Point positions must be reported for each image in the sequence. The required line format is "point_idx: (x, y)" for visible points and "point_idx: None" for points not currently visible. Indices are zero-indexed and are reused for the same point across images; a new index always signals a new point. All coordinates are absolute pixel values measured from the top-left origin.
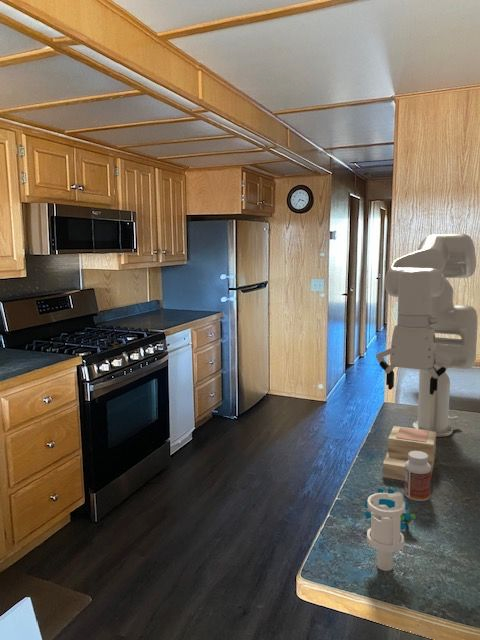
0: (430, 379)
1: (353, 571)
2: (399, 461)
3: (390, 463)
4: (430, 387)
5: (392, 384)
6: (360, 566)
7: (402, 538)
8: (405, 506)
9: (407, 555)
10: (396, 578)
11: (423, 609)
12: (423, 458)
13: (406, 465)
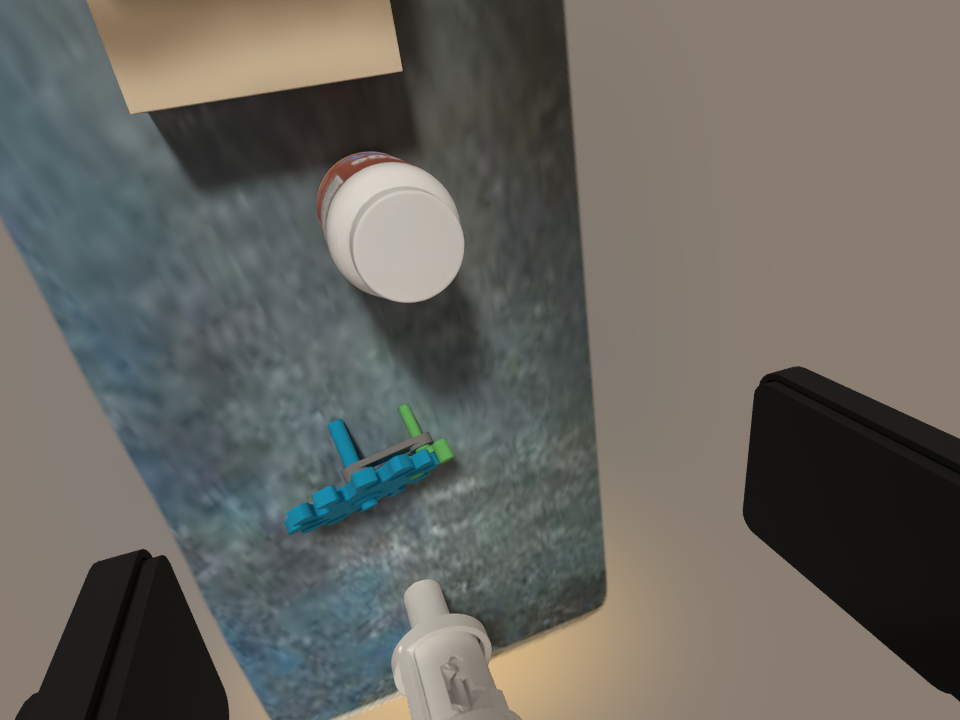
0: (944, 687)
1: (369, 652)
2: (203, 28)
3: (171, 91)
4: (822, 581)
5: (194, 700)
6: (375, 631)
7: (485, 642)
8: (422, 466)
9: (455, 530)
10: (459, 606)
11: (528, 631)
12: (450, 282)
13: (349, 278)
